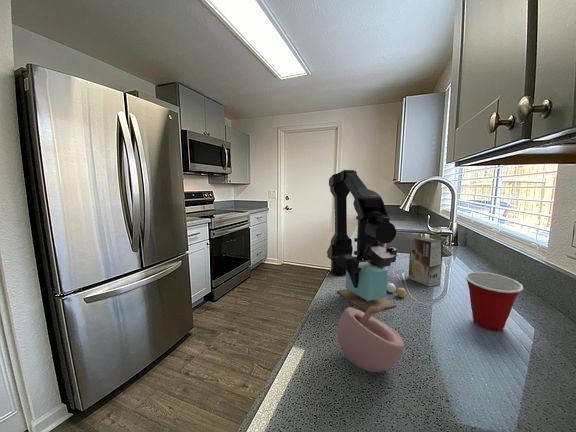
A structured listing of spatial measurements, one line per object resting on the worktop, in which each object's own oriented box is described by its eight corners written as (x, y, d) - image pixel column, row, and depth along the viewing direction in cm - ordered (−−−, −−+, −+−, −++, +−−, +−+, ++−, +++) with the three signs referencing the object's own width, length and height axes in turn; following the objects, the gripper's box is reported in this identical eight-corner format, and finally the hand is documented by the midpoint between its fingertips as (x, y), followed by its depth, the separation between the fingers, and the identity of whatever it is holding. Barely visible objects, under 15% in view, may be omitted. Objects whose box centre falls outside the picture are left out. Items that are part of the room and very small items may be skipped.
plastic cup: (465, 330, 56) (469, 282, 55) (457, 310, 66) (461, 269, 65) (526, 344, 51) (532, 291, 50) (508, 320, 61) (513, 275, 60)
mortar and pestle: (417, 382, 41) (421, 321, 40) (355, 395, 38) (357, 329, 37) (377, 340, 53) (379, 291, 51) (327, 347, 50) (328, 296, 49)
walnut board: (337, 292, 77) (337, 290, 77) (360, 287, 81) (360, 285, 81) (369, 314, 64) (369, 312, 64) (396, 306, 68) (396, 305, 68)
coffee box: (441, 284, 84) (445, 240, 82) (428, 287, 82) (431, 242, 80) (419, 275, 92) (422, 236, 91) (407, 277, 90) (409, 237, 89)
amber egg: (393, 295, 75) (393, 286, 74) (400, 294, 76) (400, 285, 76) (401, 299, 72) (401, 290, 72) (408, 298, 73) (408, 288, 73)
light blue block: (345, 287, 75) (346, 263, 75) (362, 284, 78) (363, 261, 77) (367, 301, 66) (368, 273, 65) (386, 296, 69) (387, 270, 68)
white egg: (383, 291, 78) (384, 282, 78) (390, 289, 80) (390, 281, 79) (390, 294, 76) (391, 285, 75) (397, 293, 77) (398, 284, 77)
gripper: (361, 244, 59) (358, 303, 61) (412, 238, 67) (409, 290, 69) (335, 236, 69) (334, 286, 71) (382, 232, 77) (380, 277, 79)
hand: (365, 285), depth 72 cm, fingers closed on light blue block, 7 cm apart
